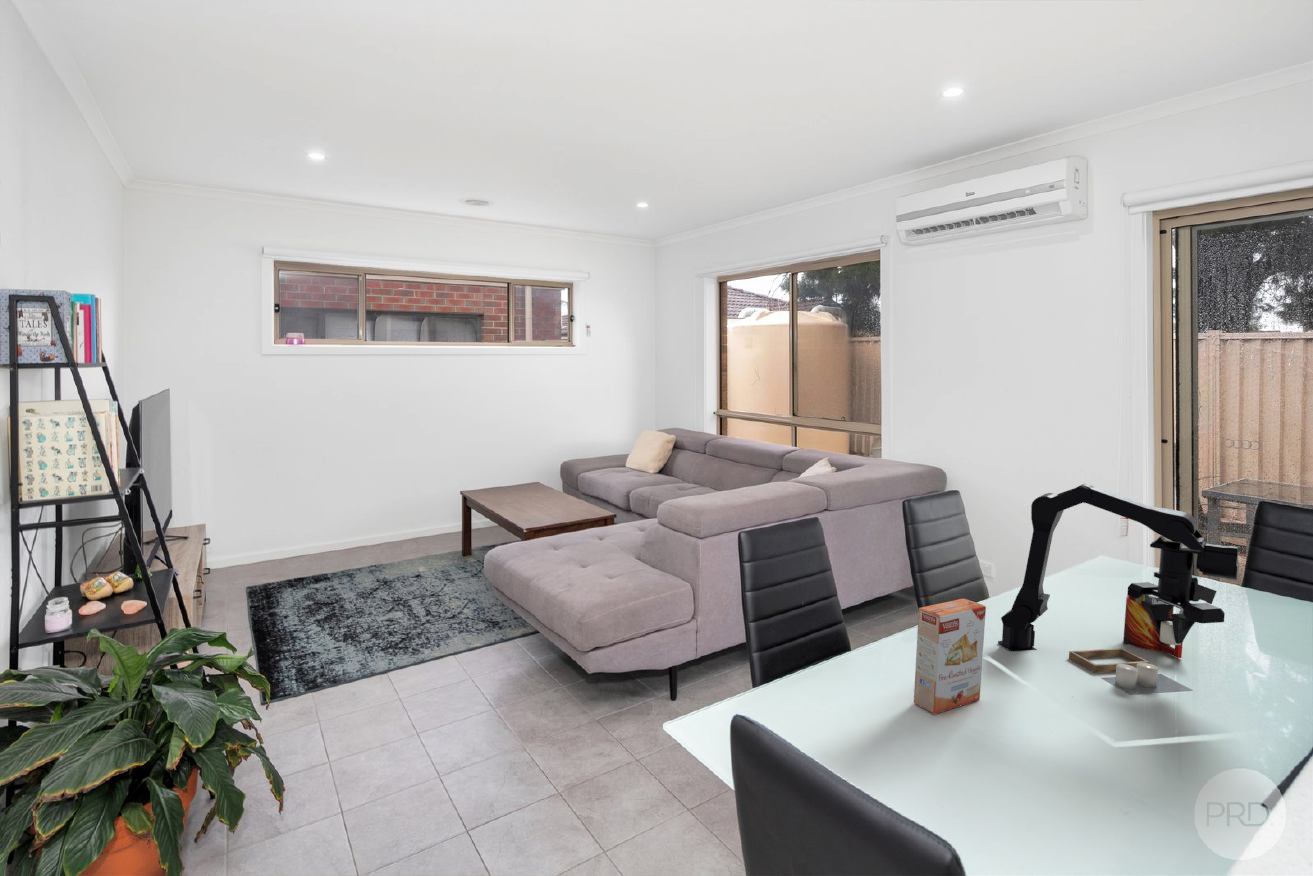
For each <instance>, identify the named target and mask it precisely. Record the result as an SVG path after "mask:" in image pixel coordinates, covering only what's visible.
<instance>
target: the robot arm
mask: <svg viewBox="0 0 1313 876" xmlns="http://www.w3.org/2000/svg"><path fill="white" fill-rule="evenodd" d="M1081 504H1088V505H1090V506H1093V507H1096V508H1099V509H1101V510H1104V511H1107V512H1109V513H1112V514H1114V515H1117V516H1120V517H1123V518H1126V519H1128V520H1132V521H1134V522H1136V523H1140V524H1141V525H1144V526H1145V527H1147V528H1149V530H1151V531H1152V532H1153V533H1156V534H1158V535H1160V536H1159V537H1157V539H1155V540H1154V541H1152V542H1151V543H1150V544H1149V546H1150V548H1153V549H1160V556H1159V568H1158V571H1154V572H1153V577H1154V578H1157V579H1158V582H1157V584H1154V583H1152V582H1149V581H1146V582H1131V583H1130V584H1129V585H1128V587H1127V595H1129V596H1132V597H1134V598H1140V597H1141V596H1142V594H1143V595H1144V601H1141V604H1143V605H1144V607H1145V608H1146V610H1147V612H1148V614H1149V615H1150V617H1151V619H1152V621H1153V623H1154V625H1155V627H1156V629H1157V632H1158V634H1159V636H1160V628H1161V621H1168V613H1169V611H1170V610H1171V608H1172V607H1173V606H1174V607H1175V608H1177V609H1179V613H1173V614H1171V617H1172V624H1173V631H1174V637H1175V641H1176V643H1177V644H1181V643H1183V642H1184V640H1185V639H1186V636H1188V633H1189V631H1190V630H1191V628H1192V627H1193V626H1194V624H1196V623H1197V624H1216V623H1217V624H1218V623H1225V617H1226V616H1225V615H1226V613H1225V612H1224V610H1223V609H1222V608H1221V607H1218V606H1216V605H1212V604H1213V601H1214V599H1215V597H1216V594H1217V590H1215V589H1212V588H1210V587H1206V586H1204V585H1201V584H1199V579H1198V577H1196V576H1193V569H1194V555H1197V556H1196V562H1195V563H1196V564H1195V565H1196V566H1195V568H1196V570H1199V571H1198V572H1199V573H1200V572H1202V575H1203V576H1209V577H1215V578H1222V579H1227V580H1234V581H1237V580H1238V577H1239V575H1238V574H1239V567H1240V560H1239V547H1238V546H1235V545H1219V544H1213V543H1211V544H1210V543H1208V541H1207V539H1205V537H1203V535H1202V534H1201V533H1200V531H1199V530H1198V524H1197V521H1196V519H1195V518H1194V516H1193V515H1191V514H1190V513H1188V512H1185V511H1181V510H1176V509H1171V508H1166V507H1164V508H1163V507H1156V506H1151V505H1147V504H1144V503H1141V502H1138V501H1136V500H1132V499H1130V498H1127V497H1124V496H1121V495H1118V494H1117V493H1112V492H1110V491H1108V490H1103V489H1101V488H1098V487H1096V486H1094V485H1092V484H1090V483H1082V484H1080V485H1078V486H1077V487H1075V488H1072V489H1067V490H1065V491H1062V492H1060V493H1053V492H1047V493H1044V494H1042V495H1040V496H1038V497H1036V498H1034V499H1033V501H1032V503H1031V505H1030V507H1031V508H1030V509H1031V511H1030V519H1031V524H1032V531H1033V532H1032V536H1031V539H1030V541H1031V542H1030V545H1029V546H1030V547H1029V551H1028V557H1027V563H1026V568H1025V573H1024V578H1023V584H1022V585H1021V587H1020V589H1019V591H1018V593H1017V595H1016V596H1015V600H1014V602H1013V604H1012V606H1011V609H1010V610H1009V611H1007V612H1005V614H1004V615H1002V616H1001V618H1000V620H1001V622H1002V639H1001V640H998V641H997V644H999V645H1000V646H1002V647H1004V648H1005V649H1007V650H1008V651H1010V652H1026V651H1037V650H1038V649H1037V648H1036V647H1034V646H1035V640H1036V639H1035V638H1036V637H1035V636H1036V634H1035V633H1036V630H1035V629H1034V628H1035V625H1034V624H1032V623H1034V622H1036V620H1038V619H1039V618H1040V617H1041V616H1043V615H1044V614H1045V612H1047V610H1049V608H1048V601H1049V599H1050V597H1051V594H1049V593H1045V592H1044V587H1043V586H1044V580H1045V576H1046V575H1045V574H1046V572H1047V571H1046V570H1047V565H1048V561H1049V560H1048V559H1049V555H1050V550H1051V545H1052V542H1053V541H1052V540H1053V535H1054V532H1055V530H1056V528H1057V526H1058V524H1059V522H1060V521H1061V518H1062V516H1063V513H1064V511H1065V510H1067V509H1070V508H1073V507H1075V506H1077V505H1081ZM1167 539H1168V540H1167ZM1127 595H1126V596H1127ZM1199 601H1204V602H1202V603H1201V602H1200V603H1199ZM1192 602H1198V603H1192Z"/></svg>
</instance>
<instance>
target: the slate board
mask: <svg viewBox="0 0 1313 876" xmlns="http://www.w3.org/2000/svg"><path fill="white" fill-rule="evenodd" d="M1101 679H1102V680H1104V681H1105V682H1107V683H1109V684H1111V685H1113V686H1114V687H1115V688H1118V689H1120V690H1121V691H1123V692H1124V693H1125V694H1128V695H1129V696H1134V695H1149V694H1160V693H1174V692H1175V693H1176V692H1190V691H1193V689H1191V688H1189V687H1188V686H1186V685H1184V684H1181V683H1180V682H1178V681H1176V680H1174V679H1172V678H1169V677H1168V676H1166V675H1164V674H1162V673H1158V678H1157V687H1156V688H1148V687H1144V686H1141V685H1139V684H1137V685H1136V689H1125V688H1122V687H1119V686H1117V685H1116V684H1115V680H1116V676H1110V677H1109V676H1108V677H1101Z"/></svg>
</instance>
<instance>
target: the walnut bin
mask: <svg viewBox="0 0 1313 876" xmlns="http://www.w3.org/2000/svg"><path fill="white" fill-rule="evenodd" d="M1115 657H1122V658H1124V659H1126V660H1128V661H1127V662H1126V661H1125V662H1124V661H1123V662H1111V663H1097V664H1095V663H1094V662H1092V661H1090V660H1089V659H1096V658H1097V659H1099V658H1115ZM1068 659H1070V660H1071V661H1073V662H1075V663H1076V664H1078V665H1079V666H1081V667H1083V668H1085V669H1087V670H1089V671H1090V672H1092V673H1094V674H1098V673H1114V672H1115V673H1116V666H1117V665H1118V664H1126V665H1130V666H1133V667H1135V668H1137V663H1148V664H1151V661H1148V660H1147V659H1144V658H1143V657H1140V656H1138V655H1136V653H1134V652H1133V653H1132V652H1131V651H1128V650H1127V649H1124V648H1123V647H1117V648H1105V649H1104V648H1102V649H1085V650H1070V651H1068Z"/></svg>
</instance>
